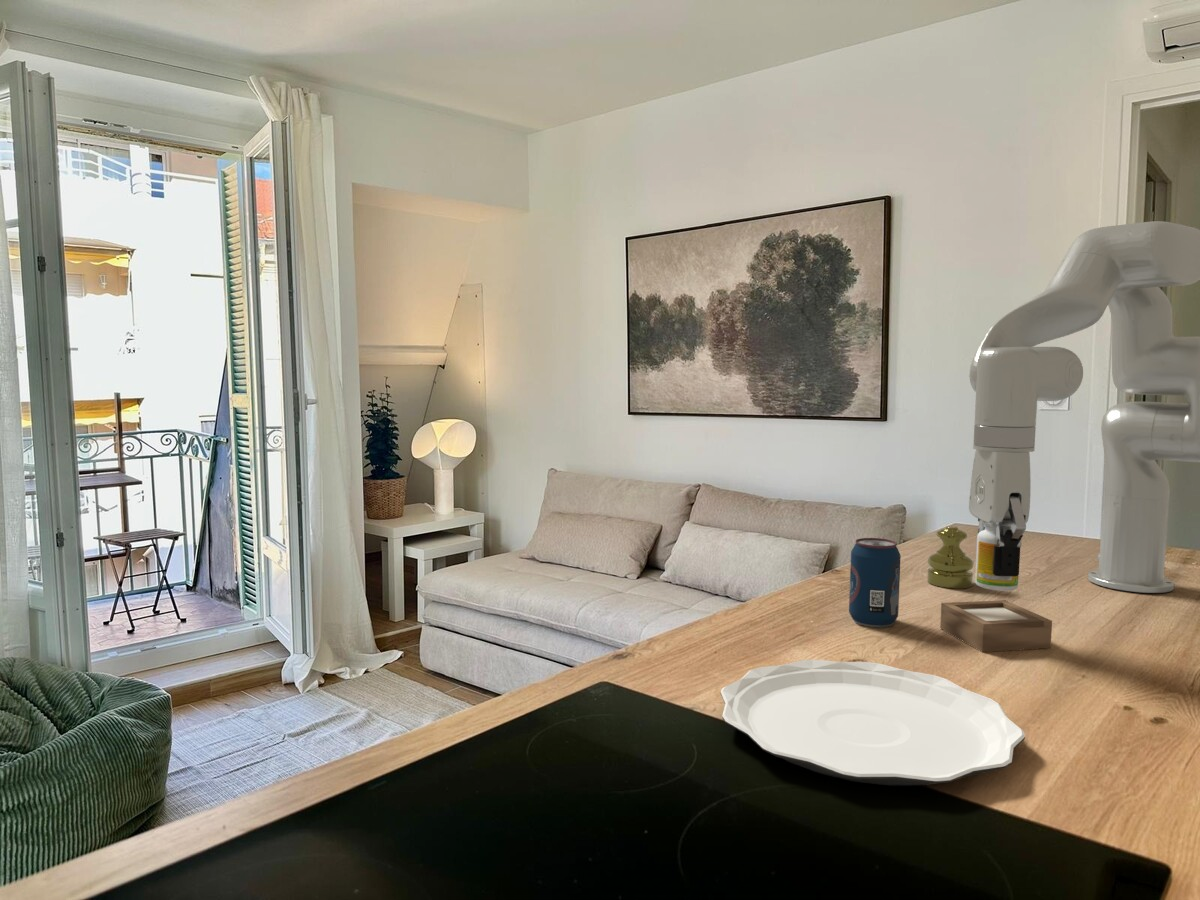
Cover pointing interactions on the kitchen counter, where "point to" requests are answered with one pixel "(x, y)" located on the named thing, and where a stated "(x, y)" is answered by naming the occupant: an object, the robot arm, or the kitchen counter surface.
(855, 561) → the soda can
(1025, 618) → the picture frame
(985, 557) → the supplement bottle
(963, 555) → the green chess piece
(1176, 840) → the kitchen counter surface
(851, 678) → the plate
